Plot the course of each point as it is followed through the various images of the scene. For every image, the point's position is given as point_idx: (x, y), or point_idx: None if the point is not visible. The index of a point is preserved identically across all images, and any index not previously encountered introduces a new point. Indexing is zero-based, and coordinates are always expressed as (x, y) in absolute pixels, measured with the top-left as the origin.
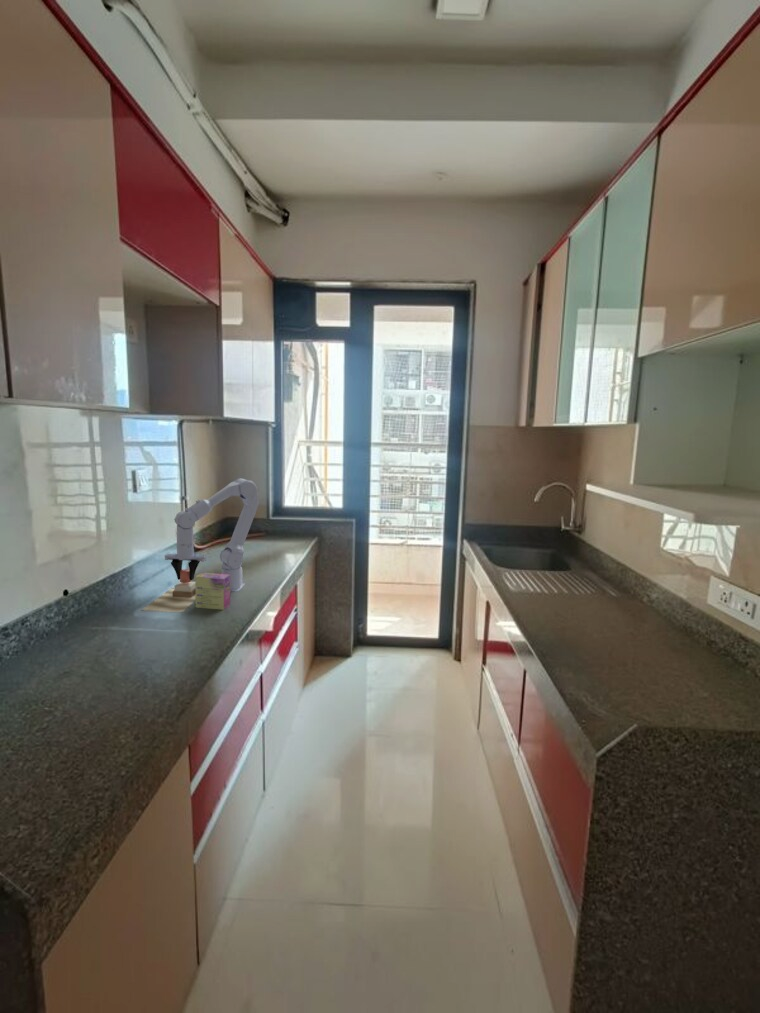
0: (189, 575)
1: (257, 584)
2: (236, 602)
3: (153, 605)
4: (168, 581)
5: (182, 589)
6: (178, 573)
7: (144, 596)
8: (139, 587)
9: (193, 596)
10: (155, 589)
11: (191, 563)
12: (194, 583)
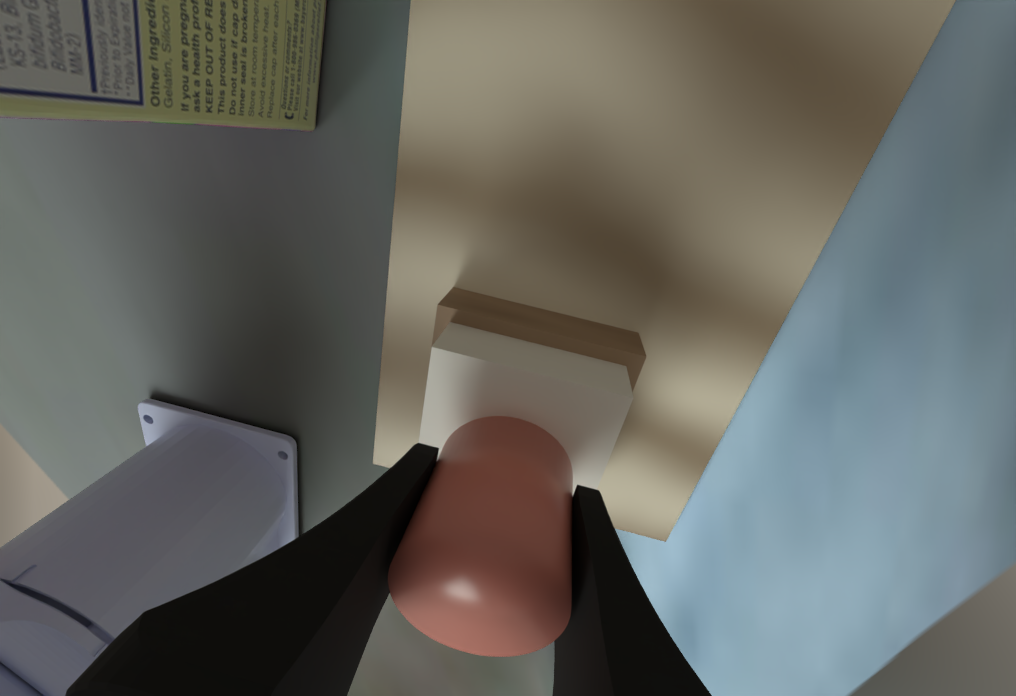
0: (424, 497)
1: None
2: (38, 141)
3: (855, 35)
4: (697, 673)
5: (536, 354)
6: (590, 552)
7: (912, 412)
8: (929, 615)
9: None
10: (797, 554)
11: (159, 682)
12: None
